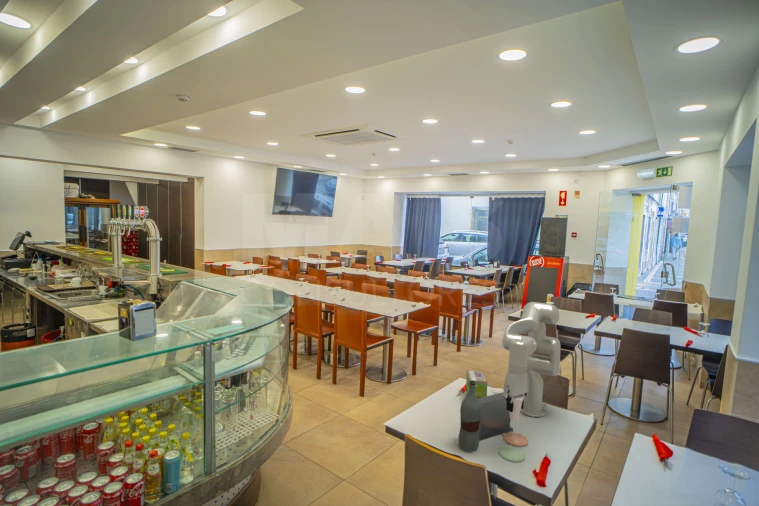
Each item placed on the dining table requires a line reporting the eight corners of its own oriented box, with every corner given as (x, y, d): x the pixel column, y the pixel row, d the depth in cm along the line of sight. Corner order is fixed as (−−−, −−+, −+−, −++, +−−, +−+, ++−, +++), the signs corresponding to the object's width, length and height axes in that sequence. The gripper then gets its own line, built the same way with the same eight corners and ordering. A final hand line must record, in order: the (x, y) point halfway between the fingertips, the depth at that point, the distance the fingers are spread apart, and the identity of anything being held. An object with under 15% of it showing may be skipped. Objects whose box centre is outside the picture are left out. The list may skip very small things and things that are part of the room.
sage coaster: (510, 445, 181) (510, 443, 181) (530, 458, 172) (530, 455, 172) (493, 451, 176) (493, 449, 176) (512, 464, 166) (512, 462, 166)
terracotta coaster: (514, 432, 193) (514, 430, 193) (533, 443, 184) (533, 441, 184) (498, 437, 188) (498, 435, 188) (516, 449, 178) (516, 447, 178)
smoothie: (504, 414, 175) (506, 383, 174) (518, 414, 176) (520, 383, 175) (510, 421, 169) (512, 389, 168) (524, 421, 170) (526, 389, 169)
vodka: (455, 441, 183) (459, 377, 181) (475, 441, 184) (479, 377, 181) (461, 452, 174) (465, 386, 171) (481, 452, 174) (486, 386, 172)
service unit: (502, 424, 201) (504, 390, 200) (512, 430, 195) (515, 396, 193) (468, 433, 190) (471, 398, 189) (479, 441, 184) (481, 404, 183)
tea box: (465, 394, 235) (466, 369, 234) (482, 395, 234) (483, 370, 233) (468, 405, 220) (469, 379, 219) (486, 407, 219) (488, 380, 218)
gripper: (524, 362, 178) (521, 402, 180) (496, 368, 170) (493, 409, 171) (538, 368, 172) (535, 409, 173) (510, 374, 163) (507, 417, 165)
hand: (514, 408), depth 172 cm, fingers closed on smoothie, 5 cm apart
